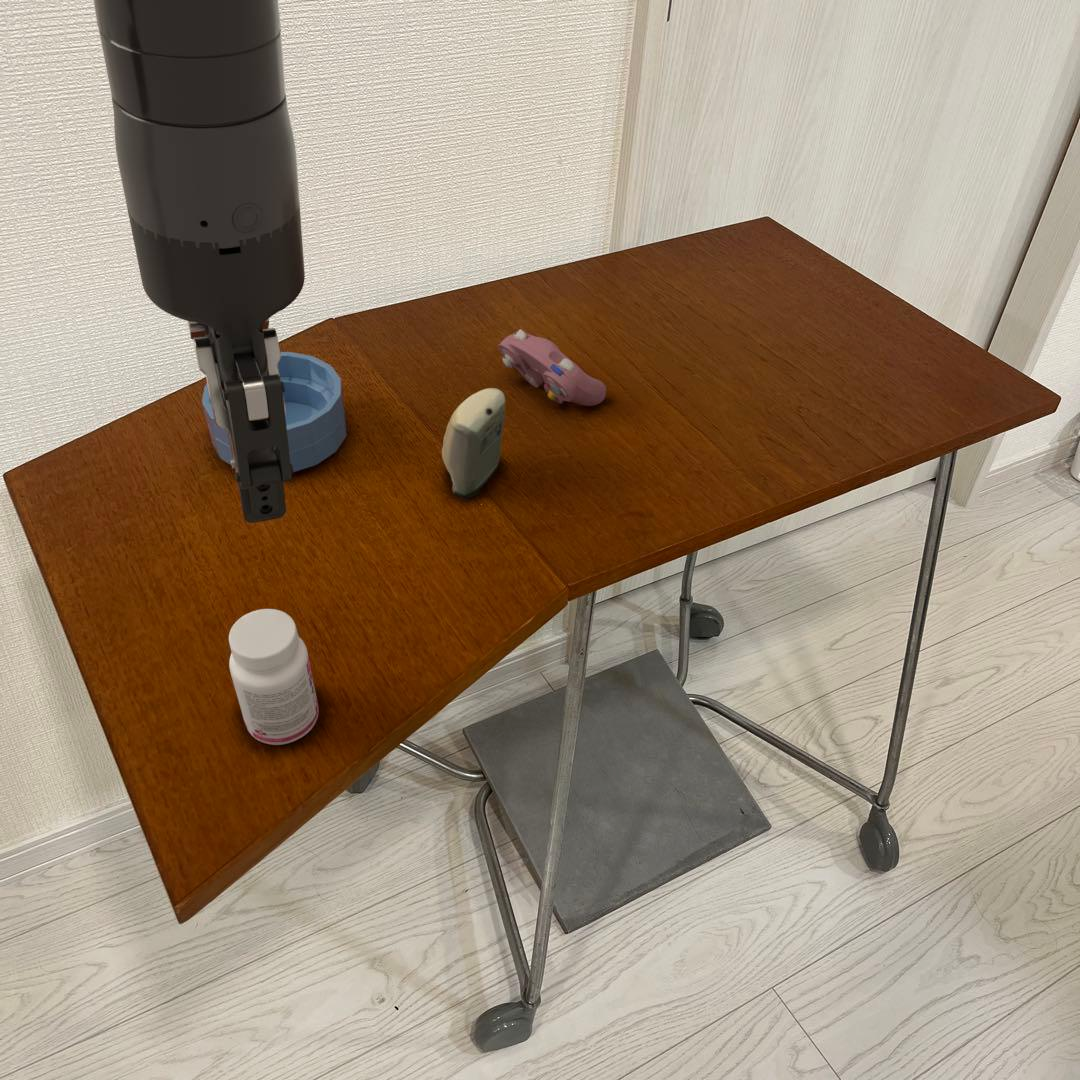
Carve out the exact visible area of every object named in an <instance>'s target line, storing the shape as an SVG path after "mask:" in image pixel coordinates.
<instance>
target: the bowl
mask: <svg viewBox="0 0 1080 1080" xmlns="http://www.w3.org/2000/svg"><path fill="white" fill-rule="evenodd" d="M280 353H281V358H280V360H279V362H278V370H279V376H280V381H283V383H284V388H285V392H283V397H284V402H285V408H286V415H285V418H286V427H287V436H288V446H289V455H290V463H292V466H293V473H295V472H298V471H301V470H305V469H309V468H311V467H315V466H316V465H318V464H320V463H322V462H323V461H325V460H326V459H328V458H329V457H331V456H332V455H333V454H335V453H336V452H337V451H338V449H339V448H340V447H341V445H342V444H343V442H344V440H345V439H346V437H347V415H346V414H347V413H346V406H345V398H344V390H343V384H342V378H341V376H340V375H339V374H338V373H337V372H336V370H335V368H334V367H333V366H332V365H331V364H329V363H327V362H325V361H323V360H321V359H320V358H317V357H316V356H313V355H309V354H303V353H298V352H293V351H280ZM201 404H202V407H203V408H202V409H203V411H204V416H205V420H206V424H207V428H208V432H209V436H210V440H211V443H212V446H213V448H214V450H215V451H216V453H217V455H218V457H219V458H220V460H222V461H223V462H225V463H227V464H228V465H230V466H231V461H230V459H233V458H232V453H231V448H230V443H229V438H228V433H227V431H226V430H225V429H222V428H220V427H218V426H217V425H216V423H215V420H214V415H213V410H212V405H211V400H210V395H209V390H208V385H207V383H206V384H205V385H204V388H203V393H202V399H201Z"/></svg>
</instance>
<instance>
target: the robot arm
mask: <svg viewBox="0 0 1080 1080" xmlns="http://www.w3.org/2000/svg"><path fill="white" fill-rule="evenodd" d="M93 5H94V12H95V17H96V24H97V27H98V32H99V37H100V42H101V48H102V53H103V57H104V63H105V68H106V75H107V79H108V84H109V88H110V93H111V104H112V109H113V110H112V111H113V127H114V129H113V130H114V142H115V152H116V160H117V164H118V169H119V174H120V179H121V185H122V190H123V193H124V199H125V205H126V210H127V214H128V219H129V224H130V230H131V234H132V235H131V236H132V240H133V244H134V249H135V250H134V251H135V254H136V259H137V264H138V269H139V275H140V279H141V284H142V288H143V291H144V292H145V294H146V296H147V297H148V298H149V300H150V301H151V302H152V303H153V304H154V305H155V306H156V307H157V308H159V309H160V310H161V311H163V312H164V313H166V314H168V315H170V316H172V317H175V318H178V319H180V320H182V321H186V323H187V327H188V332H189V336H190V340H192V341H193V347H194V353H195V357H196V361H197V367H198V369H199V370H200V372H202V373H203V374H204V376H205V381H206V384H207V385H208V390H209V395H210V400H211V405H212V410H213V415H214V420H215V423H216V425H217V426H218V427H220V428H222V429H225V430H226V431H227V433H228V438H229V443H230V448H231V453H232V458H233V459H230V461H231V465H230V466H231V469H232V470H234V474H235V475H234V476H235V480H236V483H237V485H238V492H239V499H240V506H241V511H242V514H243V519H244V521H245V522H247V523H249V524H256V523H261V522H266V521H271V520H277V519H281V518H283V517H284V516H285V515H286V513H287V506H286V505H287V504H286V496H285V486H284V485H285V484H284V483H286V482H287V483H288V482H292V481H293V474H294V472H293V466H292V463H290V455H289V446H288V436H287V427H286V418H285V415H286V408H285V402H284V397H283V392H285V388H284V383H283V381H280V376H279V370H278V362H279V360H280V358H281V353H280V352H281V348H280V343H279V337H278V333H277V330H276V328H275V327H270V318H271V317H273V316H275V314H277V313H279V312H281V311H283V310H285V309H286V308H287V307H289V306H290V305H291V304H292V303H293V302H295V301H296V299H297V298H298V297H299V295H300V294H301V292H302V290H303V287H304V284H305V279H306V277H305V276H306V273H305V262H304V261H305V258H304V246H303V232H302V218H301V203H300V189H299V188H300V187H299V174H298V162H297V159H298V158H297V150H296V142H295V137H294V132H293V127H292V123H291V118H290V113H289V107H288V101H287V93H286V81H285V80H286V77H285V65H284V52H283V40H282V39H283V38H282V37H283V36H282V28H281V27H282V26H281V17H280V16H281V15H280V8H279V0H93Z"/></svg>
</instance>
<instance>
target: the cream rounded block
mask: <svg viewBox="0 0 1080 1080" xmlns="http://www.w3.org/2000/svg"><path fill="white" fill-rule="evenodd" d="M506 406H507V401H506V396H505V393H504V391H502V390H501V389H500V388H499V389H498V388H496V387H488V388H483V389H481V390H479V391H476V392H475V393H472V394H471V395H470V396H469V397H467V398H466V399H465V400H463V401H462V402H461V403H460V404H459V405H458V406H457V407H456V409H454V412H453V413H452V415H451V416H450V419H449V421H448V423H447V426H446V430H445V433H444V435H443V442H442V443H443V444H442V449H441V457H442V461H443V464H444V466H445V468H446V470H447V472H448V473H449V475H450V480H451V482H452V488H451V489H452V493H453V495H456V496H457V497H458V498H462V499H465V500H467V499H471V498H473V497H475V496H478V493H479V492H481V489H482V488H483V487H484V486H485V485H486V484H487V483H488V481H489V480H490V479H491V478H492V477H493V476H494V474H495V473H496V472H497V470H498V468H499V463H500V460H501V448H502V439H503V433H504V425H505V424H504V423H505V414H506Z"/></svg>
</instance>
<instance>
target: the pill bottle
mask: <svg viewBox="0 0 1080 1080" xmlns="http://www.w3.org/2000/svg"><path fill="white" fill-rule="evenodd" d="M228 643H229V649H230V652H231V653H230V656H229V661H228V662H229V666H228V667H229V672H230V676H231V679H232V680H231V681H232V683H233V687H234V690H235V694H236V696H237V701H238V704H239V707H240V711H241V715H242V719H243V721H244V722H243V723H244V725H245V728H246V730H247V732H248V733H249V734H250V735H251V736H252V737H253V738H254V739H255V740H257V741H259V742H260V743H263V744H265V745H266V744H267V745H271V746H280V745H281V746H283V745H286V744H290V743H293V742H295V741H298V740H299V739H302V738H303V737H304V736H306V735H307V734H308V733H309V732H311V730H312V729H313V728H314V726H315V725H316V723H317V720H318V717H319V702H318V698H317V693H316V687H315V682H314V678H313V672H312V668H311V667H312V666H311V663H310V656H309V651H308V649H307V646H306V644H305V642H304V640H303V639H302V638H301V637H300V636H299V633H298V629H297V625H296V622H295V621H294V619H293V618H292V617H291V615H289V614H288V613H286V612H285V611H283V610H279V609H275V608H262V609H255V610H253V611H250V612H248V613H246V614H244V615H242V616H241V617H240V618H238V619H237V620H236V621H235V622H234V624H233V625H232V626H231V628H230V630H229V634H228Z"/></svg>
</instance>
